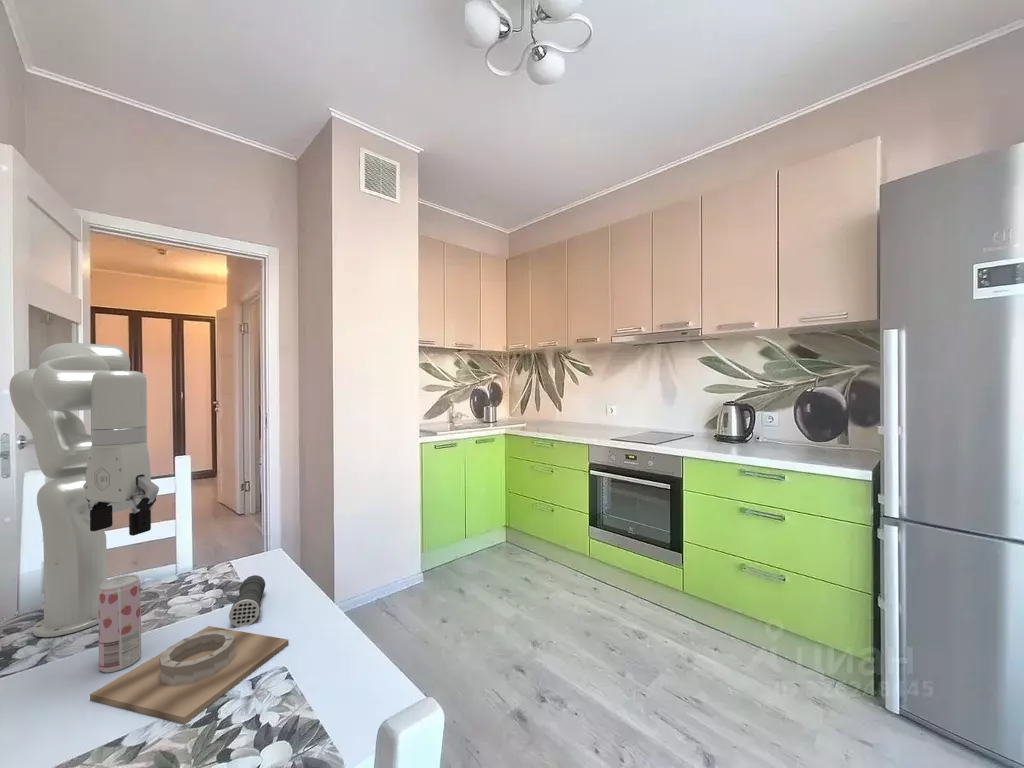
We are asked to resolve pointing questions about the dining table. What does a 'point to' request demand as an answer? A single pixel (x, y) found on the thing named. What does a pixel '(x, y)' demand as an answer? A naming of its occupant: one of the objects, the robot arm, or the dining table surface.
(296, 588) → the dining table surface
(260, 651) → the socket board
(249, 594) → the flashlight
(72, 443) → the robot arm
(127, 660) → the beverage can
